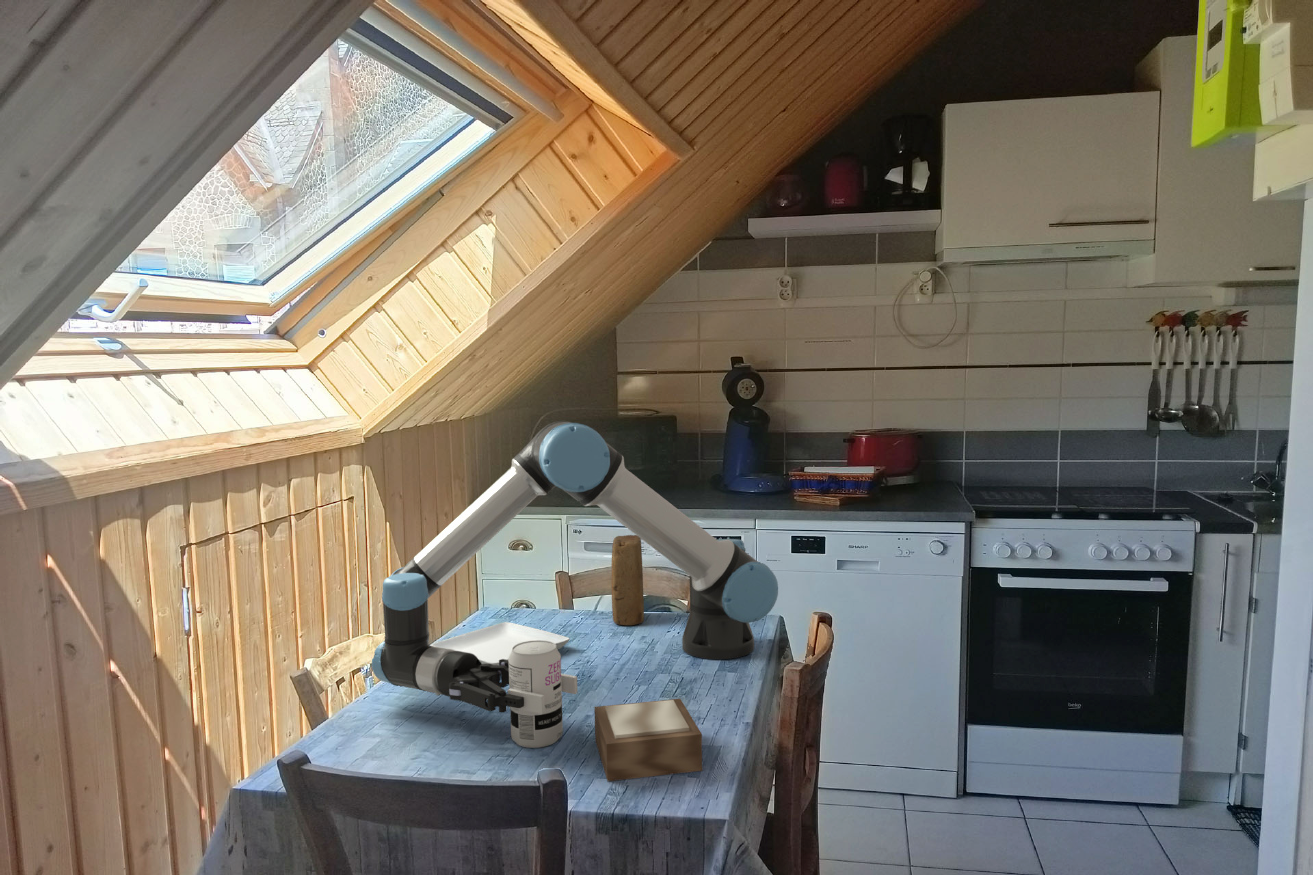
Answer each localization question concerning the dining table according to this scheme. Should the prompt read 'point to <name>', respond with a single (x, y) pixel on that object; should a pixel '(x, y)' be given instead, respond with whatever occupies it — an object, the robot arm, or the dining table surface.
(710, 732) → the dining table surface
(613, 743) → the walnut pedestal
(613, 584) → the block
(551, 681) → the supplement can
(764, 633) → the dining table surface
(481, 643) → the salad plate
